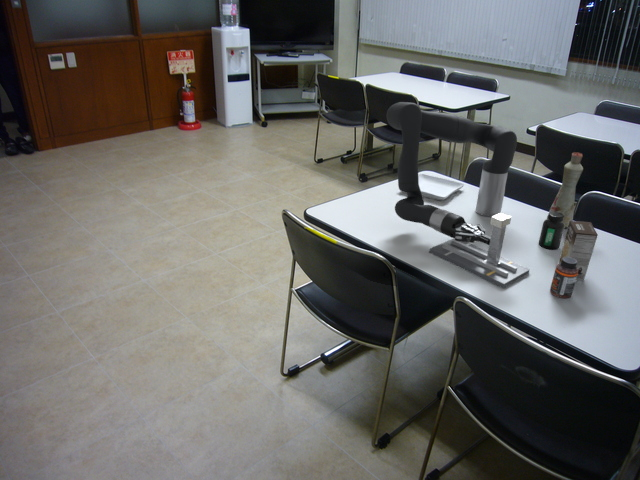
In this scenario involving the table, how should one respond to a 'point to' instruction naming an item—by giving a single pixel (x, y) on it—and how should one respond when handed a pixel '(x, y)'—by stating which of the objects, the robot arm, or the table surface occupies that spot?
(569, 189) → the bottle
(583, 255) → the coffee box
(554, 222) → the supplement bottle
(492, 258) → the post
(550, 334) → the table surface
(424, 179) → the salad plate
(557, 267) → the supplement bottle
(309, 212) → the table surface
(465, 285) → the table surface
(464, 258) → the slider rail base
